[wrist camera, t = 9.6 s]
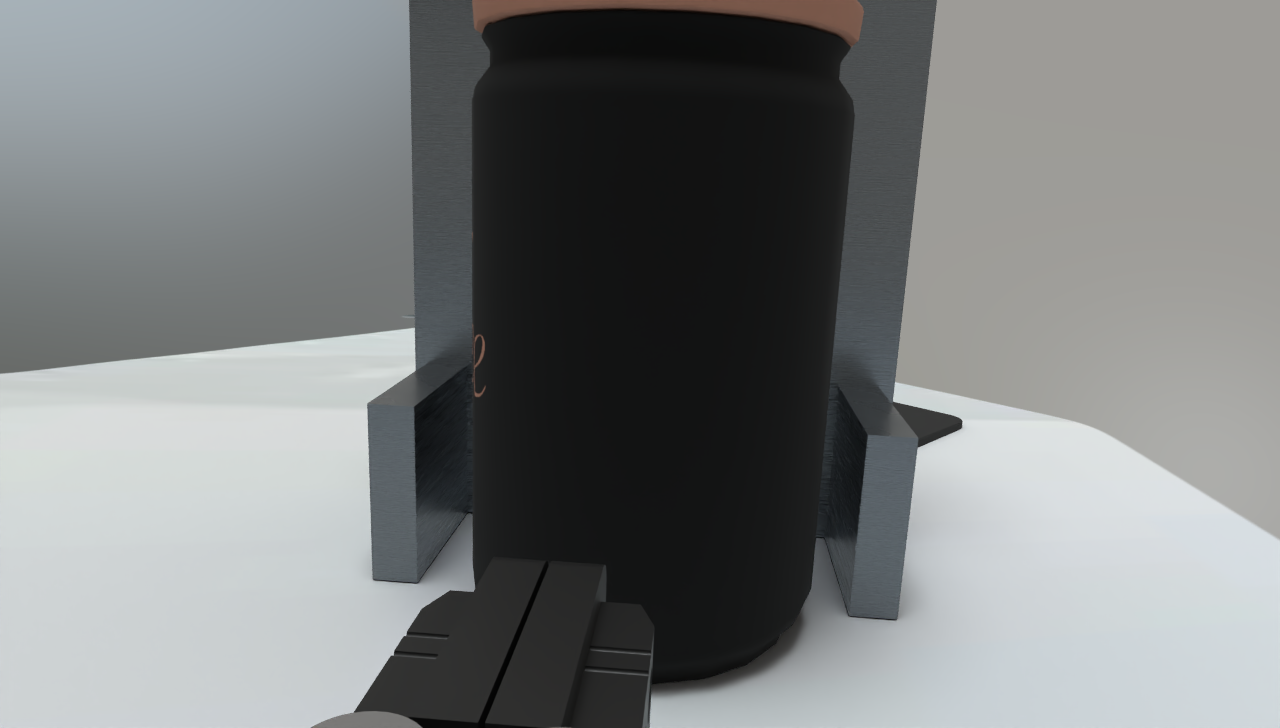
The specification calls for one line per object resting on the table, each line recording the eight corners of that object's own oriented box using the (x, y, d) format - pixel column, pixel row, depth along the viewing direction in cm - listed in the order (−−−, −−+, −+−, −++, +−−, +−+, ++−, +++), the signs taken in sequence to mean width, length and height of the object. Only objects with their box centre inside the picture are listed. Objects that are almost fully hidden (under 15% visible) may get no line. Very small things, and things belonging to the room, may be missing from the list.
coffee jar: (597, 509, 35) (612, 41, 31) (853, 583, 30) (912, 27, 26) (397, 618, 26) (382, -20, 22) (712, 752, 21) (767, -61, 17)
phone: (971, 419, 49) (830, 474, 39) (969, 433, 49) (828, 492, 39) (856, 393, 54) (703, 436, 44) (854, 405, 54) (702, 451, 44)
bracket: (913, 620, 27) (1007, -152, 22) (358, 578, 28) (332, -162, 23) (867, 520, 35) (930, -68, 30) (434, 490, 36) (426, -79, 31)
